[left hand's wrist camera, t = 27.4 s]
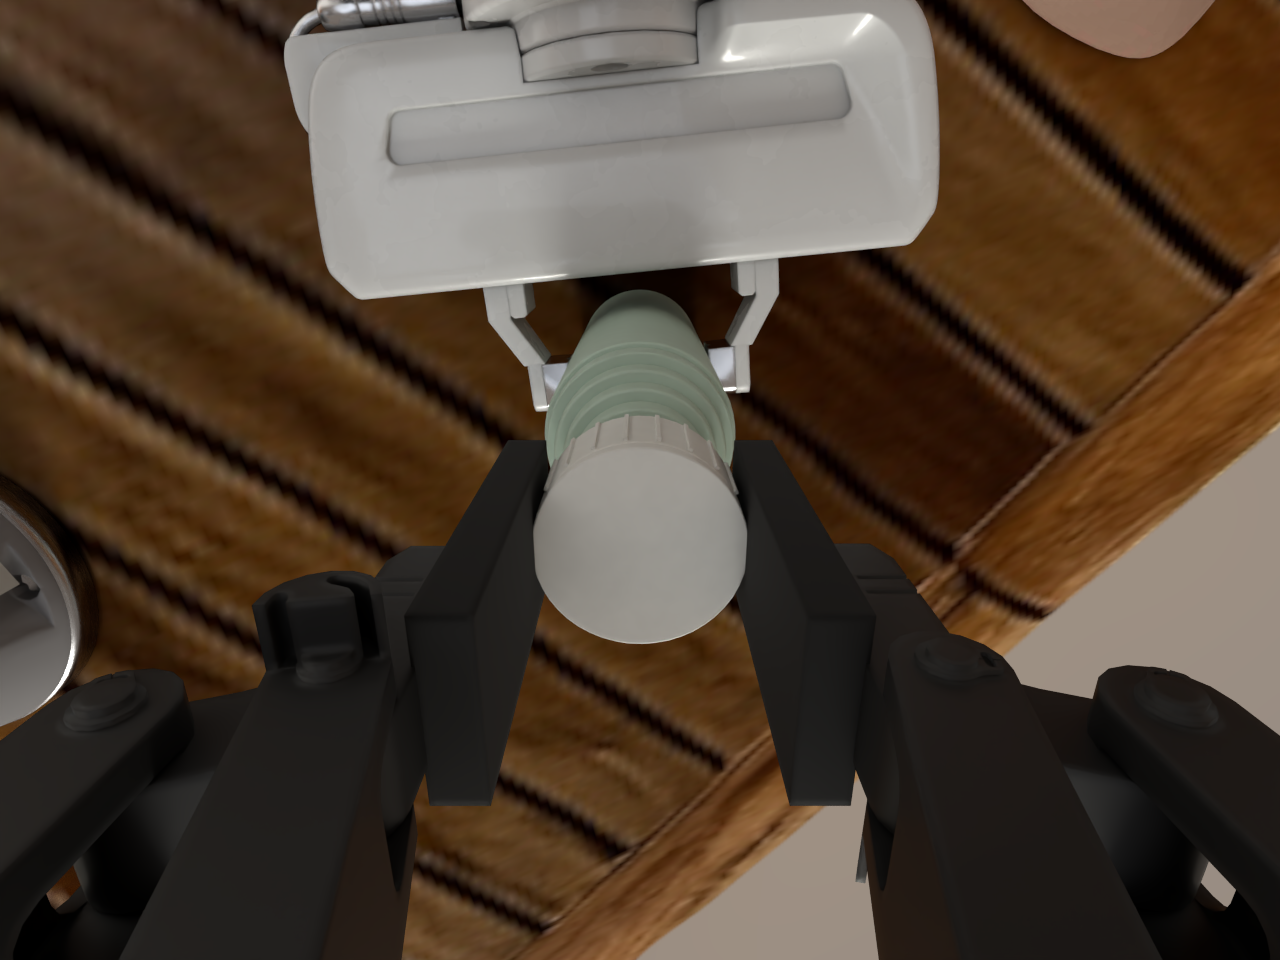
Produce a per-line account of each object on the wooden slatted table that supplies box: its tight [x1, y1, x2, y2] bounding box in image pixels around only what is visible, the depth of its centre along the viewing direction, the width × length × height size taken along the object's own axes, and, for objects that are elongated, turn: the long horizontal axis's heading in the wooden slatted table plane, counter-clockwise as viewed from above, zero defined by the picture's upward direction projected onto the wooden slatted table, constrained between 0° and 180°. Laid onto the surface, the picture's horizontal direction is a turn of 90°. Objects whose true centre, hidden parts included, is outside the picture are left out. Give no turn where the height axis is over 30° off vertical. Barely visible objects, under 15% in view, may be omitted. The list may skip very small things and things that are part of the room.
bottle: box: [545, 290, 735, 467], centre depth 22 cm, size 5×5×20 cm
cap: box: [533, 414, 747, 644], centre depth 13 cm, size 4×4×2 cm
